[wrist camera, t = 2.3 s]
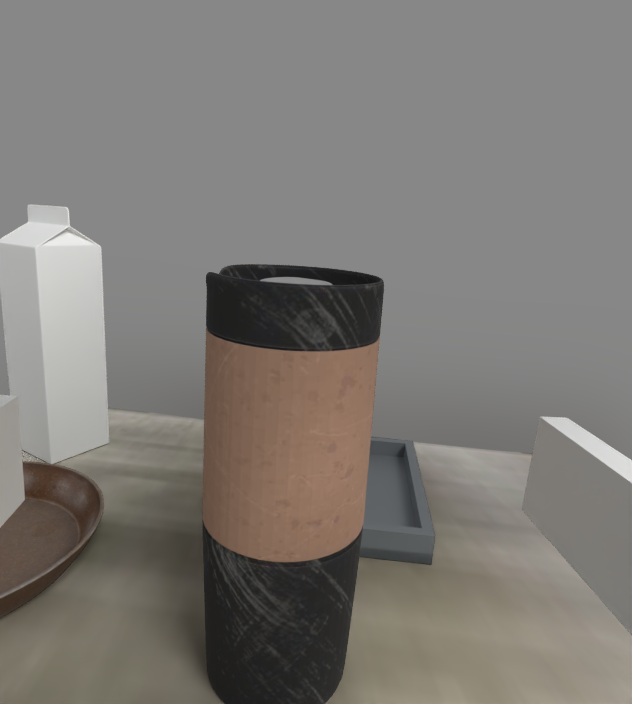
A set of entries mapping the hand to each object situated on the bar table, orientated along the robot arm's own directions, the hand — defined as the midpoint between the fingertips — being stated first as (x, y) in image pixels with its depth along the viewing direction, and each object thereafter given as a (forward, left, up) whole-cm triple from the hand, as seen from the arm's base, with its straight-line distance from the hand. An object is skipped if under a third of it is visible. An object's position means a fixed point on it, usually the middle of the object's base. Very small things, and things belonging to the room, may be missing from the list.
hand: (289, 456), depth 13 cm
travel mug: (+8, -6, -17) cm, 19 cm away
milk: (+40, -4, -17) cm, 43 cm away
